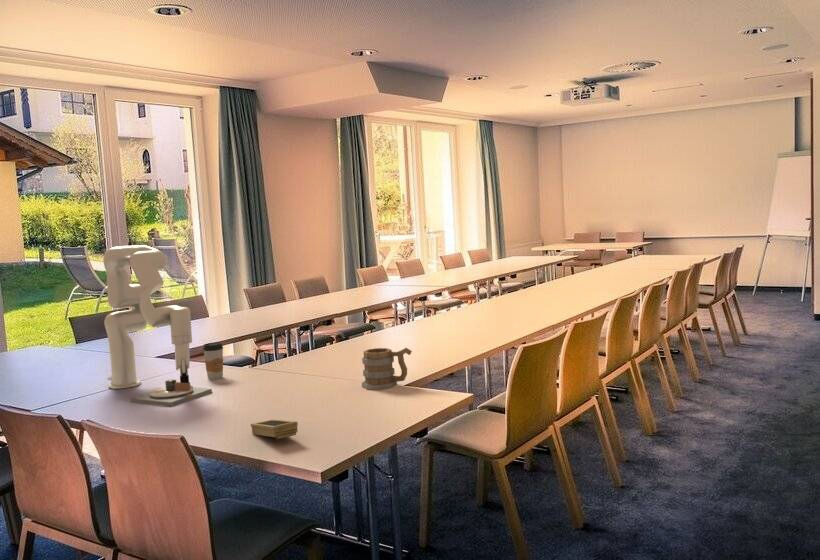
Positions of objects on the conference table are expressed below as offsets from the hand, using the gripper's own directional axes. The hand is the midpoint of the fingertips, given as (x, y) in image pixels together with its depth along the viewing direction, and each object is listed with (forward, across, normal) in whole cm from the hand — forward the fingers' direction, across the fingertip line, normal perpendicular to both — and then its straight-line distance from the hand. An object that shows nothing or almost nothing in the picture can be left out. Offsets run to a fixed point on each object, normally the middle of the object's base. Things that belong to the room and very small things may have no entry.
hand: (184, 385), depth 268 cm
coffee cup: (+4, -27, +12) cm, 30 cm away
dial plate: (+4, -1, -5) cm, 6 cm away
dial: (+2, 0, -5) cm, 5 cm away
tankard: (+3, +25, +75) cm, 79 cm away
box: (+3, +70, +25) cm, 74 cm away
